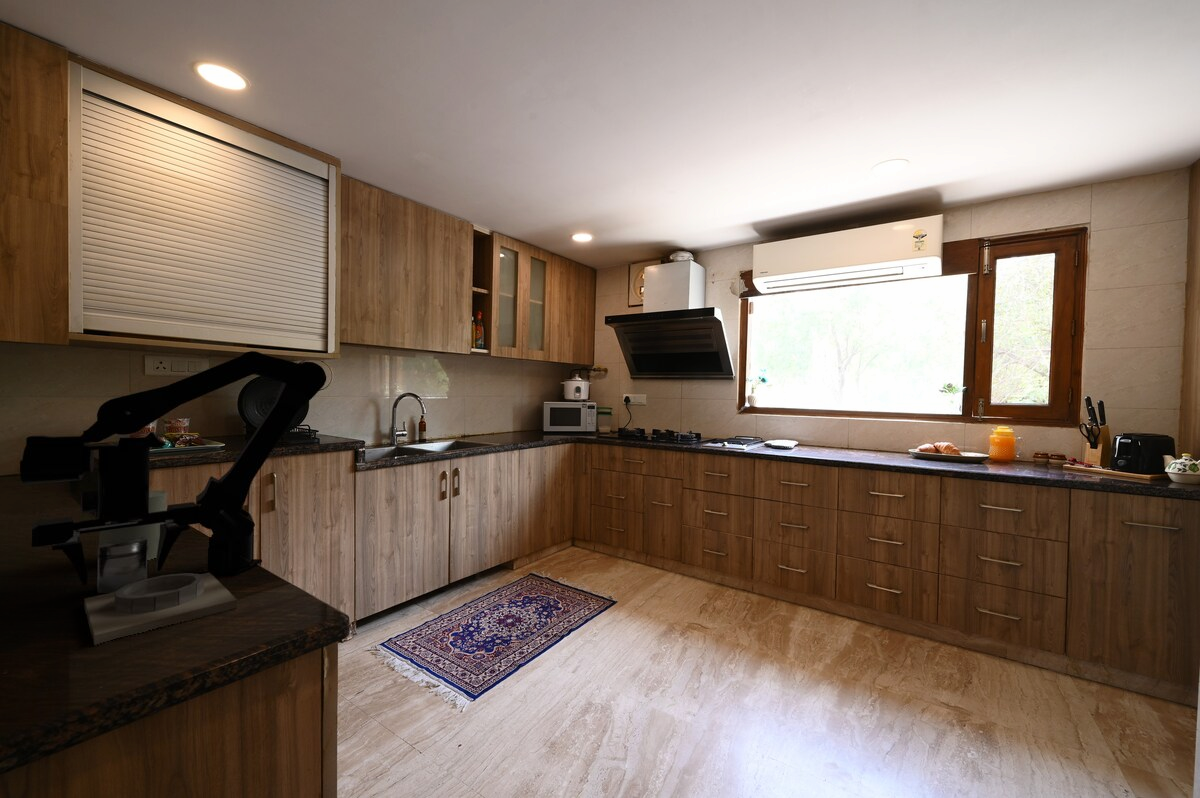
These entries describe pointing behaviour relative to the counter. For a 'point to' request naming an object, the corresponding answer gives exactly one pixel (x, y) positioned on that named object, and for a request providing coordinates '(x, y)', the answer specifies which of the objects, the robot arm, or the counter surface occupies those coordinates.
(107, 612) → the ring plate
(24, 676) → the counter surface
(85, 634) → the counter surface
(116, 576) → the piston
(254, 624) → the counter surface
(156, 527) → the can
